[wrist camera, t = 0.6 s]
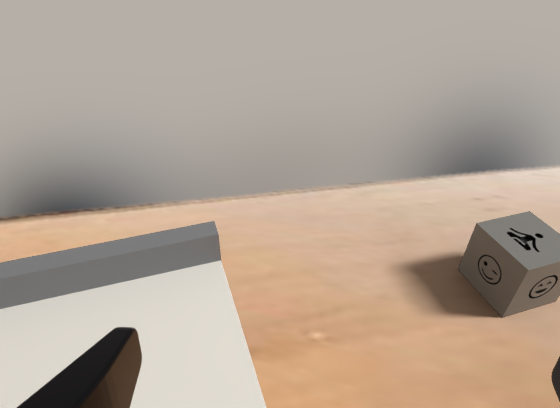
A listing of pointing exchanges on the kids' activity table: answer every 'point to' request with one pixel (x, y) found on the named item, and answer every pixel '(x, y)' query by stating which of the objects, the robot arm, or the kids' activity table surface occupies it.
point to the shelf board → (130, 319)
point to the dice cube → (514, 263)
